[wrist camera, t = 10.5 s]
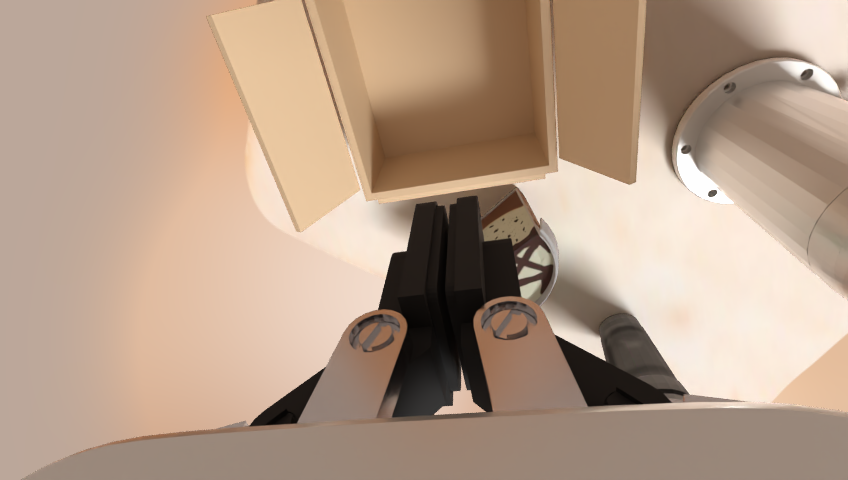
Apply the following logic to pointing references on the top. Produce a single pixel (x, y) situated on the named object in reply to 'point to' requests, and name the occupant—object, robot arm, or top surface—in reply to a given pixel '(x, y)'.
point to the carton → (441, 91)
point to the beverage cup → (637, 354)
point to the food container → (525, 244)
